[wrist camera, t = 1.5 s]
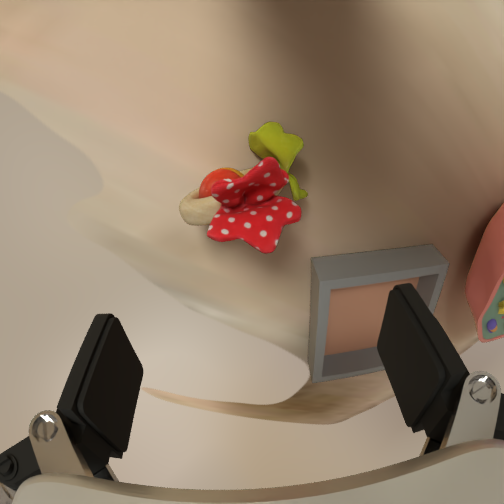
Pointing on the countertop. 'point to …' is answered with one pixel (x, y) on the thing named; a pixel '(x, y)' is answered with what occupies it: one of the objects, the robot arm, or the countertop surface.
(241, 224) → the bird rattle
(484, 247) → the cell model
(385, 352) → the robot arm
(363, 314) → the grey picture frame
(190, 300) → the countertop surface
